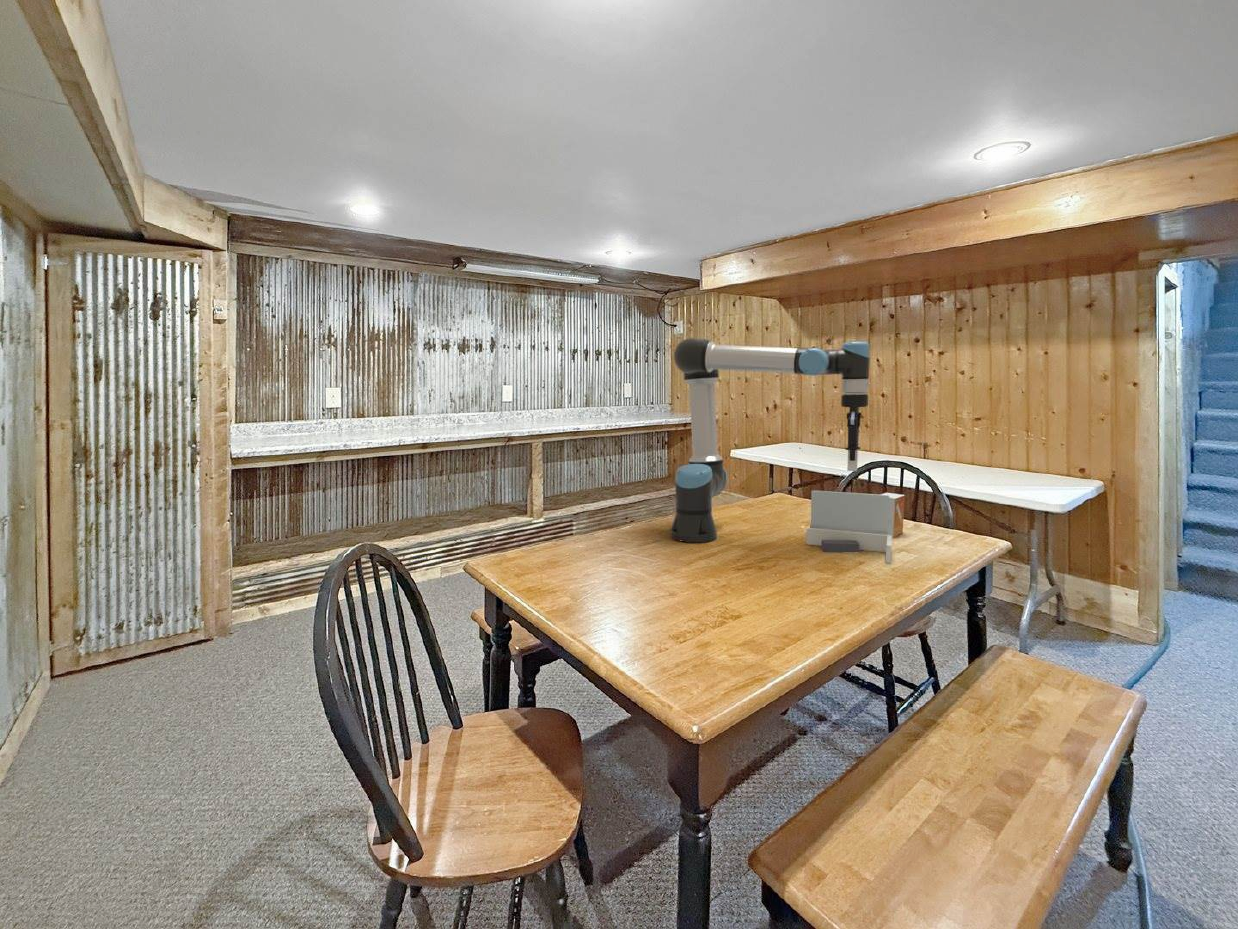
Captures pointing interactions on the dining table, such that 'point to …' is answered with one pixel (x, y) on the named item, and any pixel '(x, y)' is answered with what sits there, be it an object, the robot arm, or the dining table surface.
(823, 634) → the dining table surface
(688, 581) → the dining table surface
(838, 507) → the cover
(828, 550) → the dark blue-grey block
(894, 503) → the small box
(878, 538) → the grey bench block
